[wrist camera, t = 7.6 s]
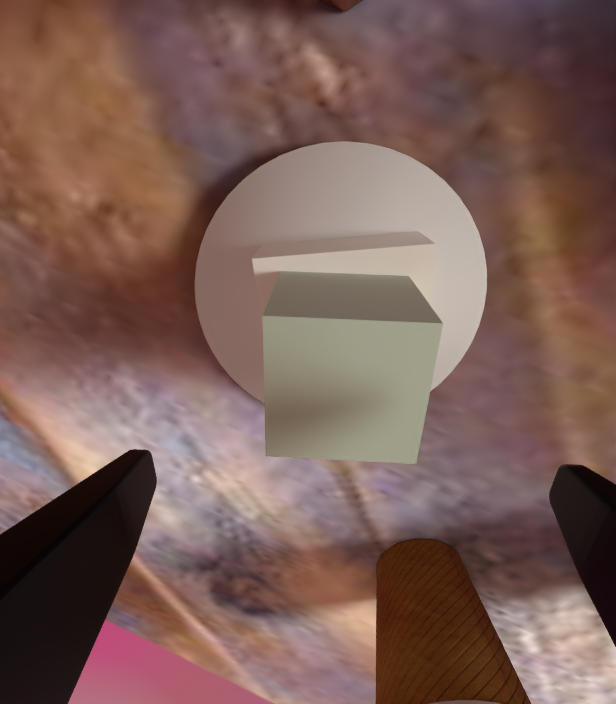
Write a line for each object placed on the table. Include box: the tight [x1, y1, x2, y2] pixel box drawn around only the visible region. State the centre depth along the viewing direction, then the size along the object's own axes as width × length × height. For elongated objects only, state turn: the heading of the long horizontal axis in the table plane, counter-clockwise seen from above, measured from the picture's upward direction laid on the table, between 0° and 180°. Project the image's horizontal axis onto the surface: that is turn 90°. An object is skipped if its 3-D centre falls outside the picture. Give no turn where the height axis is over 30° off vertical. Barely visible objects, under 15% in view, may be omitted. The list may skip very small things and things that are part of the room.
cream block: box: [252, 231, 435, 328], centre depth 18 cm, size 7×7×3 cm
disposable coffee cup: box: [376, 539, 531, 704], centre depth 24 cm, size 10×10×12 cm
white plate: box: [195, 141, 487, 404], centre depth 20 cm, size 14×14×2 cm
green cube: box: [263, 271, 443, 464], centre depth 14 cm, size 5×5×5 cm
